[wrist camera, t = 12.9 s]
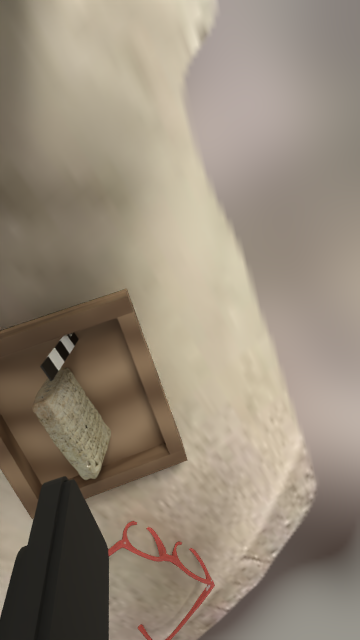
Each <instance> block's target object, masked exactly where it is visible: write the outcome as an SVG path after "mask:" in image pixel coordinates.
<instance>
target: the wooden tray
mask: <svg viewBox="0 0 360 640" xmlns="http://www.w3.org/2000/svg"><path fill="white" fill-rule="evenodd" d="M73 332H74V333H75V334H76V336H77V337H78V339H79V340H78V342H77V343H76V345H75V346H74V348H73V349H72V351H71V353H70V354H69V356H68V357H67V359H66V360H65V362H64V363H63V365H62V367H61V368H68V369H70V371H71V372H72V373H73V375H74V377H75V378H76V380H77V381H78V383H79V384H80V385H81V387H82V389H83V390H84V391H85V395H86V396H87V397H88V398H89V400H90V401H91V402H92V403H93V405H94V406H95V408H96V409H97V411H98V413H99V414H100V415H101V417H102V419H103V421H104V423H105V424H106V425H107V426H108V427H109V428H110V430H111V438H110V441H109V444H108V448H107V451H106V454H105V456H104V460H103V463H102V466H101V470H100V472H99V475H98V476H97V478H95V479H92V478H90V479H88V480H84V479H83V478H82V477H81V476H80V475H79V473H78V471H77V470H76V469H75V468H74V467H73V466H72V465H71V464H70V463H69V462H68V460H67V459H66V458H65V456H64V455H63V454H62V453H61V451H60V450H59V448H58V447H57V446H56V445H55V444H54V442H53V440H52V439H51V438H50V436H49V434H48V433H47V432H46V430H45V428H44V426H43V425H42V424H41V423H40V421H39V419H38V417H37V416H36V414H35V413H34V412H33V410H32V405H33V403H34V400H35V397H36V395H37V392H38V391H39V390H40V388H41V386H42V385H43V384H44V382H45V381H46V380H47V378H48V377H47V376H46V374H45V373H44V371H43V370H42V369H41V367H40V366H41V364H42V363H43V362H44V360H45V359H46V358H47V356H48V355H49V354H50V353H51V351H52V350H53V349H54V347H55V346H56V345H57V343H58V342H59V341H60V339H61V338H62V337H63V336H64V335H67V334H70V333H73ZM184 461H187V457H186V454H185V450H184V447H183V443H182V440H181V437H180V435H179V432H178V429H177V426H176V424H175V421H174V418H173V415H172V413H171V410H170V407H169V404H168V402H167V399H166V396H165V393H164V390H163V388H162V385H161V382H160V379H159V377H158V374H157V371H156V368H155V366H154V363H153V360H152V357H151V355H150V352H149V349H148V346H147V344H146V341H145V338H144V335H143V332H142V330H141V327H140V324H139V321H138V319H137V316H136V313H135V310H134V308H133V305H132V302H131V299H130V297H129V294H128V291H127V289H124V290H121V291H118V292H115V293H112V294H109V295H106V296H103V297H100V298H97V299H94V300H91V301H88V302H85V303H82V304H79V305H76V306H73V307H70V308H67V309H64V310H61V311H58V312H55V313H52V314H49V315H46V316H43V317H40V318H37V319H34V320H31V321H28V322H25V323H22V324H19V325H16V326H13V327H10V328H7V329H4V330H1V331H0V469H1V470H2V472H3V473H4V475H5V477H6V478H7V480H8V481H9V483H10V485H11V486H12V488H13V489H14V491H15V493H16V494H17V496H18V497H19V499H20V501H21V502H22V504H23V505H24V507H25V509H26V510H27V512H28V513H29V515H30V517H31V518H32V519H33V518H34V516H35V511H36V507H37V503H38V499H39V495H40V490H41V487H42V485H43V483H45V482H48V481H51V480H54V479H57V478H60V477H63V476H66V477H67V478H68V480H72V479H74V480H75V481H76V483H77V485H78V487H79V489H80V491H81V493H82V495H83V497H84V499H86V498H89V497H91V496H94V495H97V494H99V493H102V492H105V491H107V490H110V489H113V488H115V487H118V486H121V485H123V484H126V483H128V482H131V481H134V480H136V479H139V478H142V477H144V476H147V475H150V474H152V473H155V472H158V471H160V470H163V469H165V468H168V467H171V466H173V465H176V464H179V463H181V462H184Z"/></svg>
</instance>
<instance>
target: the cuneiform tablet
mask: <svg viewBox="0 0 360 640" xmlns="http://www.w3.org/2000/svg"><path fill="white" fill-rule="evenodd" d="M78 340H79V339H78V337H77V336H76V334H75V333H74V332H73V333H70V334H67V335H64V336H63V337H62V338H61V339H60V341H59V342H58V343H57V345H56V346H55V347H54V349H53V350H52V351H51V353H50V354H49V355H48V356H47V358H46V359H45V360H44V362H43V363H42V364H41V366H40V367H41V369H42V370H43V371H44V373H45V374H46V376H47V377H48V378H47V380H46V381H45V382H44V384H43V385H42V386H41V388H40V390H39V391H38V392H37V395H36V397H35V400H34V403H33V405H32V410H33V412H34V413H35V414H36V416H37V417H38V419H39V421H40V423H41V424H42V425H43V426H44V428H45V430H46V432H47V433H48V434H49V436H50V438H51V439H52V440H53V442H54V444H55V445H56V446H57V447H58V448H59V450H60V451H61V453H62V454H63V455H64V456H65V458H66V459H67V460H68V462H69V463H70V464H71V465H72V466H73V467H74V468H75V469H76V470H77V471H78V473H79V475H80V476H81V477H82V478H83V479H84V480H88V479H90V478H92V479H95V478H97V476H98V475H99V472H100V470H101V466H102V463H103V460H104V456H105V454H106V451H107V448H108V444H109V441H110V438H111V430H110V428H109V427H108V426H107V425H106V424H105V423H104V421H103V419H102V417H101V415H100V414H99V413H98V411H97V409H96V408H95V406H94V405H93V403H92V402H91V401H90V400H89V398H88V397H87V396H86V395H85V391H84V390H83V389H82V387H81V385H80V384H79V383H78V381H77V380H76V378H75V377H74V375H73V373H72V372H71V371H70V369H68V368H61V367H62V365H63V363H64V362H65V360H66V359H67V357H68V356H69V354H70V353H71V351H72V349H73V348H74V346H75V345H76V343H77V342H78Z"/></svg>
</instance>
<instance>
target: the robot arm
mask: <svg viewBox="0 0 360 640" xmlns="http://www.w3.org/2000/svg"><path fill="white" fill-rule="evenodd" d="M0 640H109V554H108V548H107V544H106V542H105V540H104V538H103V536H102V534H101V532H100V529H99V527H98V525H97V523H96V521H95V519H94V517H93V515H92V513H91V511H90V509H89V507H88V505H87V503H86V501H85V499H84V497H83V495H82V493H81V491H80V489H79V487H78V485H77V483H76V481H75V480H74V479H72V480H68V478H67V477H66V476H63V477H60V478H57V479H54V480H51V481H48V482H45V483H43V485H42V487H41V490H40V495H39V499H38V503H37V507H36V511H35V516H34V520H33V524H32V528H31V532H30V536H29V541H28V545H27V546H24V547H22V548H21V549H20V551H19V552H18V554H17V557H16V560H15V564H14V568H13V571H12V575H11V579H10V583H9V587H8V590H7V594H6V598H5V602H4V606H3V610H2V613H1V617H0Z"/></svg>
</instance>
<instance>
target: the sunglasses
mask: <svg viewBox="0 0 360 640" xmlns="http://www.w3.org/2000/svg"><path fill="white" fill-rule="evenodd" d="M131 525H137V522H134V521H132V522H130V523H128V524H127V525H126V527H125V529H124V531H123V538H122V540H120V541H118V542H117V543H116V544H115V545H113V546H112V547H111V548H110V549H108V554H109V556H110V555H112V554H113V553H114V552H116V551H117V550H119V549H120V548H122V547H123V548H125V549H127V550H129V551H131V552H133V553H135V554H137V555H139V556H142V557H144V558H147V559H150V560H153V561H170V562H172V563H173V564H174V565H176V566H178V567H179V568H180V569H181V570H183V571H184V572H185V573H186V574H188V575H189V576H191V577H192V578H194V579H196V580H198V581H200V582H202V583H205V584H208V585H207V587H206V588H205V590H204V591H203V592H202V594H201V595H200V597H199V598H198V600H197V601H196V603H195V604H194V606H193V607H192V609H191V610H190V611H189V613H188V614H187V615H186V617H185V618H184V619H183V620H182V622H181V623H180V624H179V625H178V627H177V628H176V629H175V630H174V631H173V633H172V634H171V635H170V636H169V637H168V638H167V639H165V640H171V639H172V638H173V637H174V635H175V634H176V633H177V632H178V631H179V630H180V629H181V627H182V626H183V625H184V624H185V623H186V621H187V620H188V619H189V618H190V616H191V615H192V614H193V613H194V612H195V611H196V609H197V608H198V607H199V606H200V605H201V604H202V602H203V601H204V600H205V598H206V597H207V596H208V594H209V593H210V592H211V590H212V589H213V587H214V586H215V585H214V582H213V580H212V579H211V577H210V575H209V573H208V571H207V569H206V567H205V565H204V563H203V561H202V560H201V558H200V557H199V555H198V554H197V553H196V551H195V550H194V549H192V548H190V549H189V550H190V551H191V552H192V553H193V554H194V555H195V556H196V558H197V559H198V561H199V562H200V564H201V566H202V568H203V570H204V572H205V575H206V579H203V578H201V577H198V576H197V575H195V574H193V573H192V572H190V571H189V570H188V569H187V568H185V567H184V565H183V564H182V563H181V562H180V560H179V558H178V556H177V552H176V547H177V546H178V545H181V544H182V543H181V542H177V543H176V544H175V547H174V549H173V552H172V556H171V555H168V554H166V549H165V547H164V545H163V543H162V541H161V540H160V538H159V537H158V535H157V534H156V533H155V531H154V530H153V529H152V528H149V527H148V528H146V529H147V530H148V531H149V532H150V533H151V534H152V535H153V537H154V539H155V541H156V544H157V547H158V551H159V555H160V557H154V556H151V555H148V554H146V553H143V552H141V551H139V550H137V549H136V548H134V547H133V546H132V545H131V544H130V542H129V540H128V538H127V529H128V528H129V527H130V526H131ZM138 629H139V630H140V632H141V633H142V634H143V635H144V636H145V638H146V639H147V640H152V639H151V637H150V636H149V635H148V633H147V632H146V630H145V629H144V627H143V626H142V624H141V625H140V626H139V627H138Z"/></svg>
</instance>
